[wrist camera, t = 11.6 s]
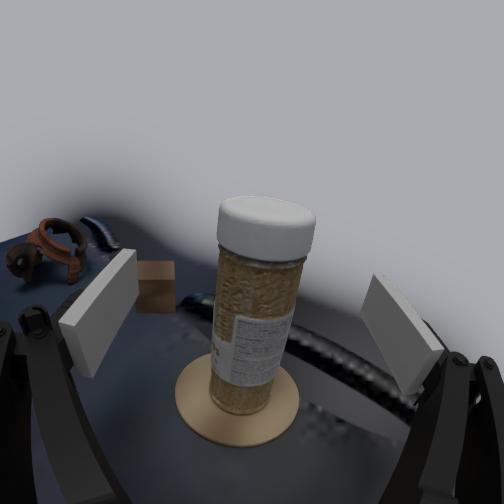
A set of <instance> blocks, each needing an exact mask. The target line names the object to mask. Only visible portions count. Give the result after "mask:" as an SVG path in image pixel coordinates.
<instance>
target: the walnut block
mask: <svg viewBox="0 0 504 504" xmlns="http://www.w3.org/2000/svg"><path fill="white" fill-rule="evenodd" d="M137 272H138V285H139V296H138V297H137V299H136V309H137V313H176V311H175V276H174V275H175V274H174V261H137Z"/></svg>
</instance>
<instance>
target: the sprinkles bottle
mask: <svg viewBox="0 0 504 504" xmlns="http://www.w3.org/2000/svg"><path fill="white" fill-rule="evenodd" d="M315 223H316V217H315V215H314V214H313V212H312V211H310V210H309V209H307V208H306V207H304V206H301V205H299V204H296V203H293V202H290V201H286V200H281V199H277V198H271V197H263V196H236V197H231V198H228V199H226V200H224V201H223V202H222V203H221V205H220V208H219V216H218V226H217V240H218V241H219V244H218V247H219V249H220V253H219V260H218V262H219V265H218V275H217V287H216V298H215V303H214V315H213V330H212V346H211V364H212V367H211V380H210V383H209V393H210V395H211V398H212V399H213V401H214V403H216V404H217V405H218V406H219V407H220V408H222V409H223V410H225V411H228V412H230V413H234V414H237V415H242V414H252V413H255V412H258V411H260V410H262V409H263V408H264V407H265V406H266V405H267V404H268V402H269V401H270V398H271V394H272V389H271V388H272V385H273V382H274V379H275V375H276V374H277V371H278V368H279V365H280V361H281V358H282V355H283V351H284V348H285V344H286V340H287V336H288V333H289V329H290V325H291V321H292V317H293V313H294V309H295V300H296V296H297V292H298V287H299V283H300V278H301V273H302V270H303V263H304V262H305V260H306V259H307V254H308V253H309V252H310V249H311V245H312V240H313V235H314V230H315Z"/></svg>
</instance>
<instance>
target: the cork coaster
mask: <svg viewBox="0 0 504 504" xmlns="http://www.w3.org/2000/svg"><path fill="white" fill-rule="evenodd" d="M211 367H212V364H211V353H210V354H207V355H204V356H202V357H199V358H198V359H196V360H194V361H193V362H191V363H190V364H189V365H188V366H187V367H186V368H185V369H184V370H183V371H182V372H181V374H180V376H179V378H178V380H177V383H176V387H175V399H176V405H177V409H178V411H179V414H180V416H181V417H182V419H183V421H184V422H185V423H186V424H187V426H188V427H189V428H190V429H191V430H192V431H194V432H195V433H196V434H198V435H199V436H200V437H202V438H204V439H206V440H208V441H210V442H213V443H215V444H218V445H222V446H226V447H234V448H248V447H255V446H259V445H263V444H265V443H268V442H270V441H272V440H274V439H276V438H278V437H279V436H280V435H282V434H283V433H284V432H285V431H286V430H287V429H288V428H289V426H290V425H291V424H292V422H293V420H294V418H295V416H296V414H297V411H298V407H299V393H298V390H297V387H296V384H295V382H294V381H293V379H292V378H291V376H290V375H289V374H288V373H287V372H286V371H285V370H284V369H283V368H282V367H281V366H279V368H278V371H277V374H276V375H275V379H274V382H273V385H272V388H271V389H272V394H271V398H270V401H269V402H268V404H267V405H266V406H265V407H264V408H263V409H262V410H260V411H258V412H255V413H252V414H242V415H237V414H234V413H230V412H228V411H225V410H223V409H222V408H220V407H219V406H218V405H217V404H216V403H214V401H213V399H212V398H211V395H210V393H209V383H210V380H211Z"/></svg>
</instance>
